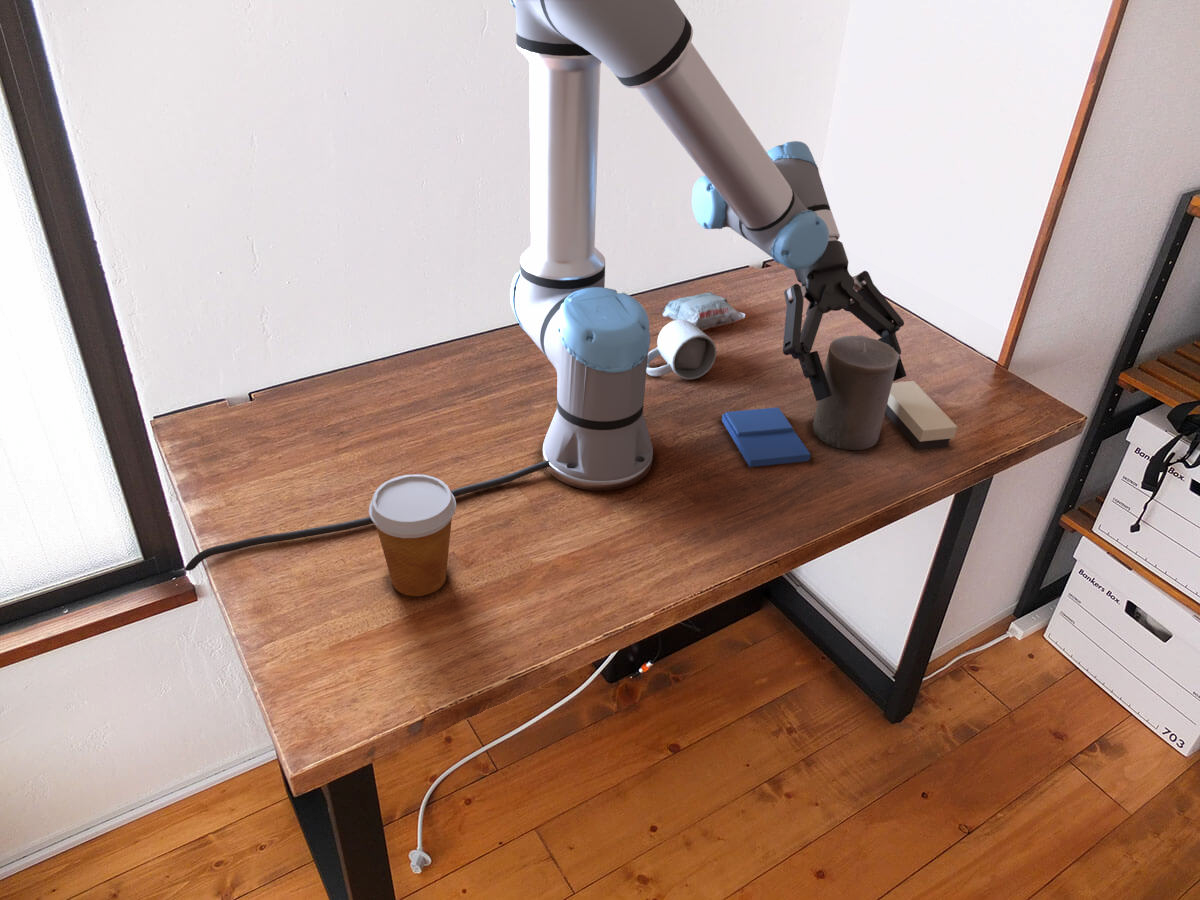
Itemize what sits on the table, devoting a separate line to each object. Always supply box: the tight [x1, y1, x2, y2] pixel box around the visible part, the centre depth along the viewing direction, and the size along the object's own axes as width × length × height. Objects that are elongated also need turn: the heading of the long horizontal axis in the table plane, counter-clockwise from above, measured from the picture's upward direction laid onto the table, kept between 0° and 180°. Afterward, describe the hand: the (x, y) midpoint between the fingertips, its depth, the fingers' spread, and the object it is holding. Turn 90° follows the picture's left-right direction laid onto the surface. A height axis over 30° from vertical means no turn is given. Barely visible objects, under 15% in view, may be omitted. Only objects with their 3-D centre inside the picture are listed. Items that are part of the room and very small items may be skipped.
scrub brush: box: [885, 380, 958, 451], centre depth 142 cm, size 6×13×4 cm, turn 13°
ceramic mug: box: [646, 319, 717, 380], centre depth 152 cm, size 11×8×8 cm
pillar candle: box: [812, 335, 901, 451], centre depth 137 cm, size 10×10×15 cm
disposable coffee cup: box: [368, 473, 457, 597], centre depth 108 cm, size 10×10×12 cm
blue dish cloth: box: [721, 406, 812, 468], centre depth 138 cm, size 9×12×2 cm
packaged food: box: [662, 291, 746, 331], centre depth 166 cm, size 9×12×5 cm
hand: (862, 388), depth 135 cm, fingers open, 13 cm apart
